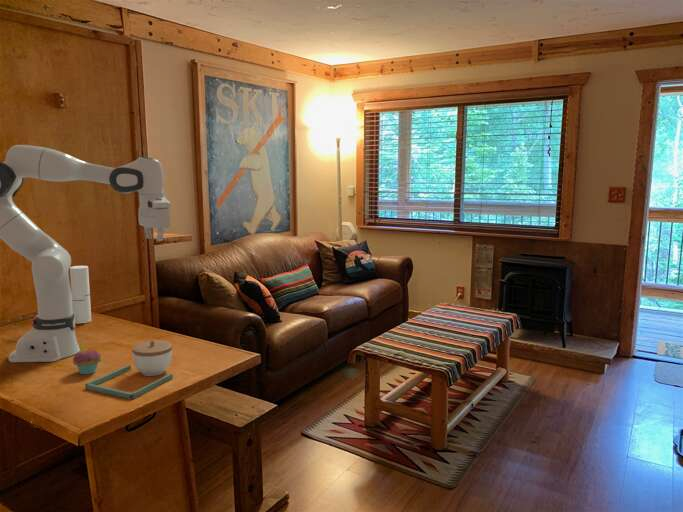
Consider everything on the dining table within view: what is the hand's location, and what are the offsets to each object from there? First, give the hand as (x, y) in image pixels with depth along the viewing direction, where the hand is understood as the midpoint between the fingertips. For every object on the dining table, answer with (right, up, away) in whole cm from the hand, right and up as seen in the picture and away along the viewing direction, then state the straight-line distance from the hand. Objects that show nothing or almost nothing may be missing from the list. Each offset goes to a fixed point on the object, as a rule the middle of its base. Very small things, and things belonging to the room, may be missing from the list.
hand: (154, 239), depth 190 cm
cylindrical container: (-46, -36, +38) cm, 69 cm away
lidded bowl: (+6, -46, -16) cm, 49 cm away
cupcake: (-16, -45, -17) cm, 51 cm away
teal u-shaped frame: (+2, -47, -25) cm, 53 cm away
